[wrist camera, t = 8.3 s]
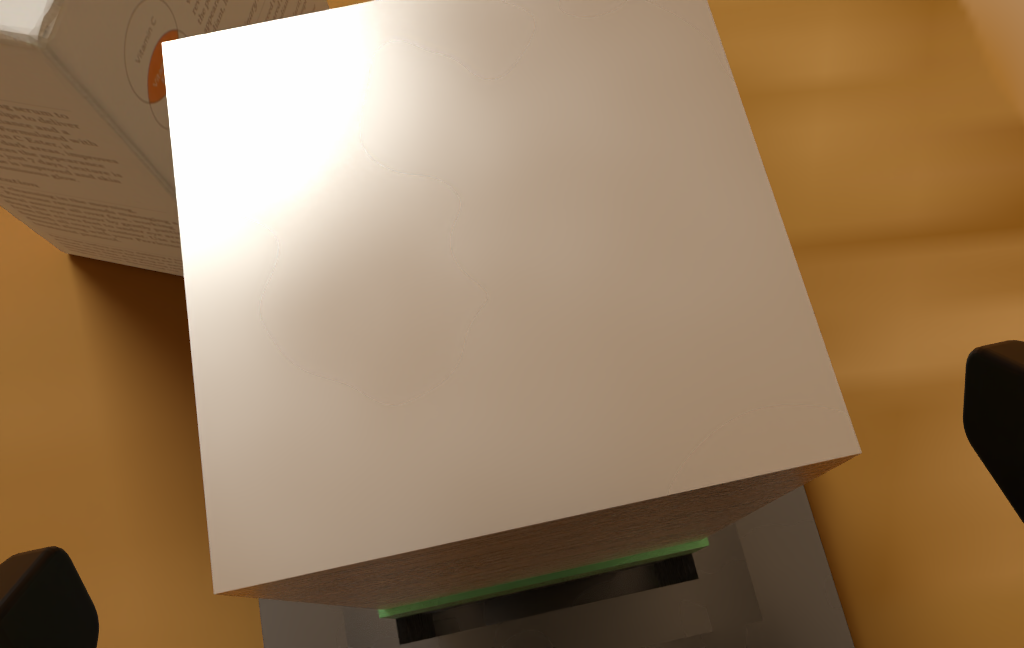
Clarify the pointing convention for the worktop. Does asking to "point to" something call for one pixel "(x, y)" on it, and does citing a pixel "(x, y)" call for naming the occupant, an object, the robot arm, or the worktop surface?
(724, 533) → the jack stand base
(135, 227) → the small box
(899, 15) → the worktop surface
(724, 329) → the white tall block
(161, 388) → the worktop surface
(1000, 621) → the worktop surface
